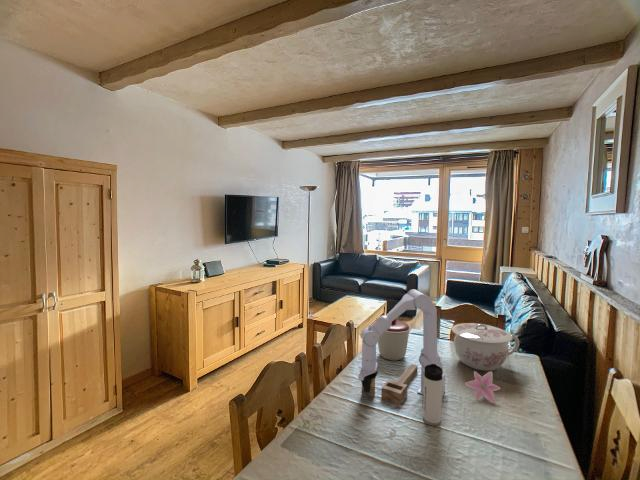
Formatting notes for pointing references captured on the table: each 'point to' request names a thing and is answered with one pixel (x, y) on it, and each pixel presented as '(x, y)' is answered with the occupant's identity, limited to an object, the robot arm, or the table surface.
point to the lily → (483, 386)
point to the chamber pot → (482, 345)
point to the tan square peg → (372, 391)
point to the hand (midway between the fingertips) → (368, 389)
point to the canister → (394, 341)
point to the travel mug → (432, 395)
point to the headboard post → (399, 386)
